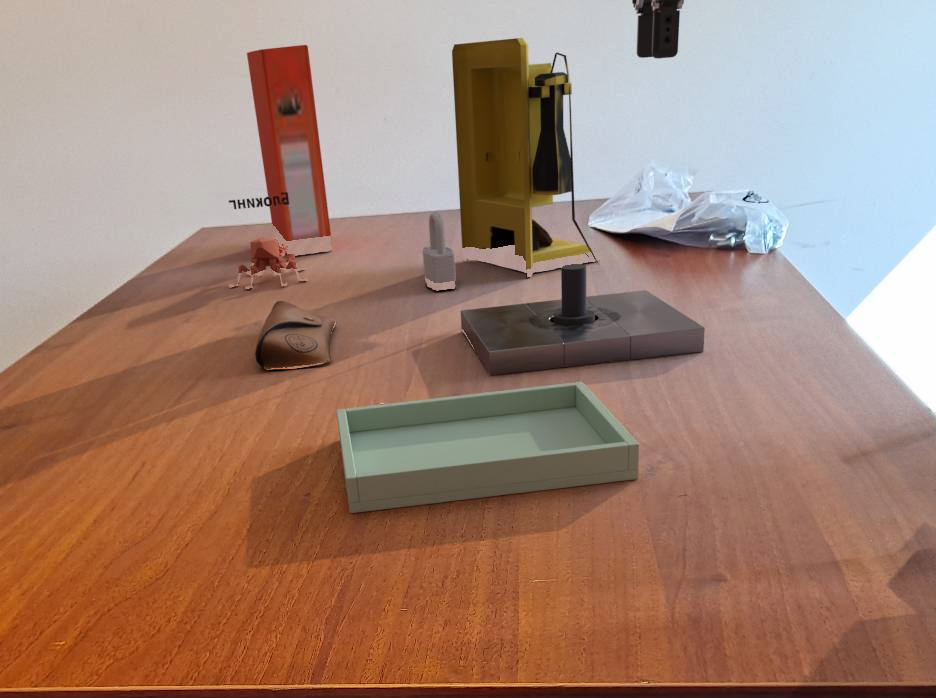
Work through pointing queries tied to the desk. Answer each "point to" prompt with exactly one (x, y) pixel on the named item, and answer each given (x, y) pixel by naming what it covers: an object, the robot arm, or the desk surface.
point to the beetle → (267, 244)
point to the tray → (481, 446)
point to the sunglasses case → (293, 338)
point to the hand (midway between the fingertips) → (656, 57)
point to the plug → (573, 297)
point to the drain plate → (579, 333)
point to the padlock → (438, 253)
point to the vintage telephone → (511, 148)
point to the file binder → (290, 140)
